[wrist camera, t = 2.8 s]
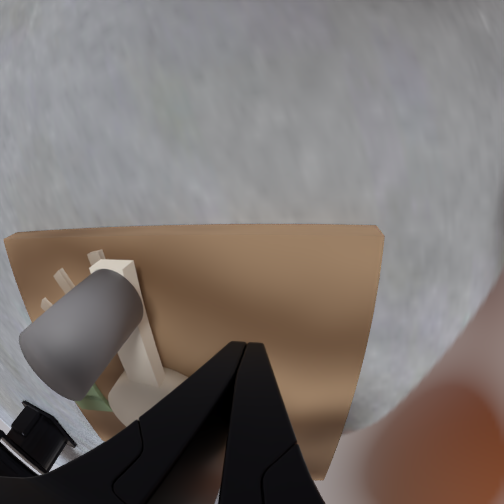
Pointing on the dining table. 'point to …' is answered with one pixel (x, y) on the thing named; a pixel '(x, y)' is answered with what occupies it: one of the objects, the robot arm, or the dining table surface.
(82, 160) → the dining table surface
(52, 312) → the needle
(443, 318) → the dining table surface
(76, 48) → the dining table surface
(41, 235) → the dial board
